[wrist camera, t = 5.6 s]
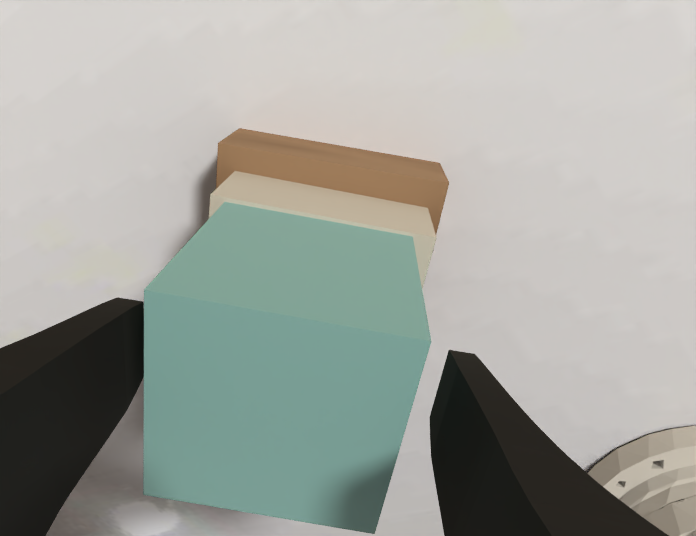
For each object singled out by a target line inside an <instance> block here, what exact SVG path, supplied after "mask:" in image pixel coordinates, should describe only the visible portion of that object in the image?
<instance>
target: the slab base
mask: <svg viewBox="0 0 696 536" xmlns="http://www.w3.org/2000/svg"><path fill="white" fill-rule="evenodd" d="M234 171H238V172H244V173H249V174H254V175H259V176H264V177H270V178H275V179H280V180H285V181H290V182H296V183H301V184H306V185H311V186H316V187H322V188H327V189H332V190H337V191H342V192H348V193H353V194H358V195H363V196H368V197H374V198H379V199H384V200H389V201H395V202H400V203H405V204H410V205H415V206H421V207H426V208H428V210H429V214H430V217H431V221H432V224H433V227H434V231H435V234H436V233H437V229H438V225H439V221H440V217H441V213H442V209H443V205H444V201H445V197H446V193H447V189H448V185H449V181H448V179H447V177H446V175H445V173H444V171H443V169H442V167H441V165H440V163H437V162H431V161H425V160H420V159H414V158H408V157H402V156H396V155H391V154H385V153H379V152H373V151H367V150H362V149H356V148H350V147H344V146H339V145H333V144H327V143H321V142H315V141H310V140H304V139H298V138H292V137H287V136H281V135H275V134H269V133H263V132H258V131H252V130H246V129H240V128H239V129H238V130H236V131H235V132H233V133H232V134H231V135H229V136H228V137H226V138H225V139H223V140H222V141H220V142H219V143H218V157H217V178H216V189H217V188H218V187H219V186H220V185H221V184H222V183H223V182H224V181H225V180H226V179H227V178H228V177H229V176H230V175H231V174H232V173H233V172H234Z"/></svg>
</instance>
